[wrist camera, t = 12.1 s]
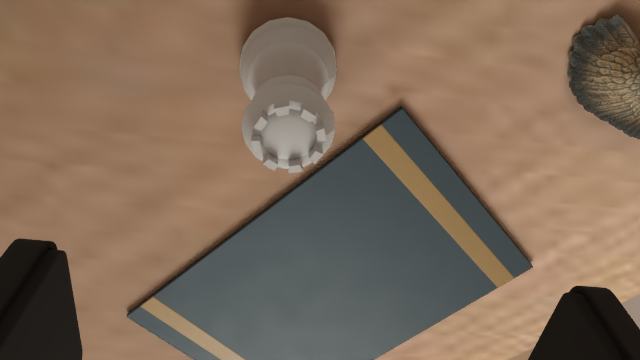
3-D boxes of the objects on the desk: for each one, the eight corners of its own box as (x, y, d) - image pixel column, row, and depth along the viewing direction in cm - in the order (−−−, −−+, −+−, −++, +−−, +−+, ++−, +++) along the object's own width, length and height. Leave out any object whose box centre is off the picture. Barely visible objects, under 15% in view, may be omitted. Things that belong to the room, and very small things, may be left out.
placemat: (401, 105, 25) (402, 108, 25) (531, 263, 31) (533, 267, 31) (127, 313, 31) (126, 316, 31) (279, 410, 37) (279, 415, 37)
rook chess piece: (338, 15, 23) (360, 77, 16) (333, 108, 25) (350, 197, 18) (237, 13, 22) (216, 75, 15) (242, 106, 25) (225, 197, 18)
